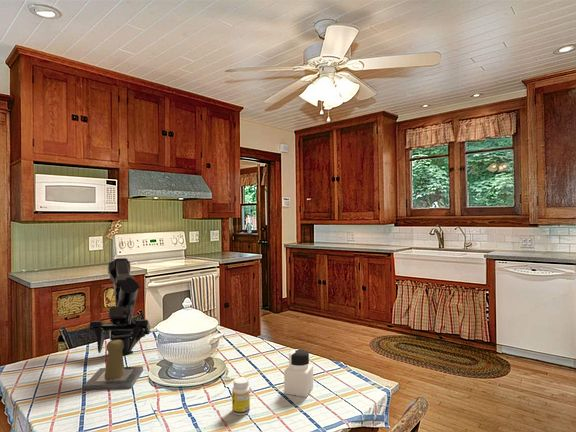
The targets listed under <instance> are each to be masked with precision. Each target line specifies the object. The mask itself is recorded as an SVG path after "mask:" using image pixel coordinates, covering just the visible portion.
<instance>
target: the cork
mask: <svg viewBox="0 0 576 432" xmlns="http://www.w3.org/2000/svg"><path fill="white" fill-rule="evenodd" d="M105 348H106V351H107V352H108V353H107V360H106V364H105V365H106V366H105V368H106V370H105V378H109V379H111V378H118V377H121V376H123V375H124V374H125V370H124V367H125V364H124V363H125V362H124V355H123V354H122V350H123V348H124V342H123V341H122V340H110V341H108V342H107V344H106V347H105Z"/></svg>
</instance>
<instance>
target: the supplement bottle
mask: <svg viewBox="0 0 576 432" xmlns="http://www.w3.org/2000/svg"><path fill="white" fill-rule="evenodd" d="M249 384H250V383H249V379H248V378H247V377H243V376H242V377H241V376H240V377H237V378H235V379H233V387H232V388H231V389H232V390H231V392H232V394H231V396H232V397H231V399H232V401H231V403H232V405H231V406H232V407H231V408H232V409H231V411H232V413H233V414H234V415H237V416H245V415H247V414H249V413H250V411H251V406H250V405H251V404H250V403H251V402H250V401H251V394H250V393H251V387H250V386H249Z"/></svg>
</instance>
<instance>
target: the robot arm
mask: <svg viewBox="0 0 576 432" xmlns="http://www.w3.org/2000/svg"><path fill="white" fill-rule="evenodd" d="M130 272H131V261H129V260H128V258H126V257H122V258H121V257H120V258H114V259H113V261H110V262H108V265H107V275H109V280H110V281H111V282H112V283H113V292H114V306H111V307H109V308H108V309H109V310H108V316H107V317H108V319H109V322H110V323H111V324H105V322H104V320H92V321H91V322H89V324H88V327H87V329H88V331H89V333H90V334H91V336H92V337H94V338H95V339H96V342H97V352H98V354H100V353H101V352H102V349H103V346H104V343H105V339H106V334H107V331H108V332H109V340H110V341H112V340H122V341H123V342H124V348H123V350H122V354H123V356H126V355H130V354H131V355H132V354H133V353H134V351H133V349H134V347H135V346H136V345H137V343H139V341H140V340H141V339H142V338H146V337H145V336H149V335H150V333H151V324H150V321H149V320H148V319H136V320H135V321H133V318H134V316H133V315H134V314H133V313H134V310H135V307H136V301H137V297H138V293H139V292H138V291H139V290H140V287H141V285H140V284H139V283H138V281H137V280H136V279H135V277H134V276H133V275H131V274H130Z"/></svg>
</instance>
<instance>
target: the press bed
mask: <svg viewBox="0 0 576 432" xmlns="http://www.w3.org/2000/svg"><path fill="white" fill-rule="evenodd" d="M105 370H106V367H100V368H99V369H98V370H97V371H96V372H95V373H94V374H93V375H92V376H91V377H90V379H89V380H87V381H86V382H85V384H83V391H84V392H85V391H100V390H101V391H103V390H104V391H105V390H122V389H124V390H125V389H132V388H133V387H134V385H135V384H136V383H137V380H138V379H139V378H140V376H141V374H142V373H143V372H144V366H143V365H142V366H141V365H140V366H139V365H138V366H124V370H125V374H124V375H123V376H121V377H118V378H111V379H109V378H105Z"/></svg>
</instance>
